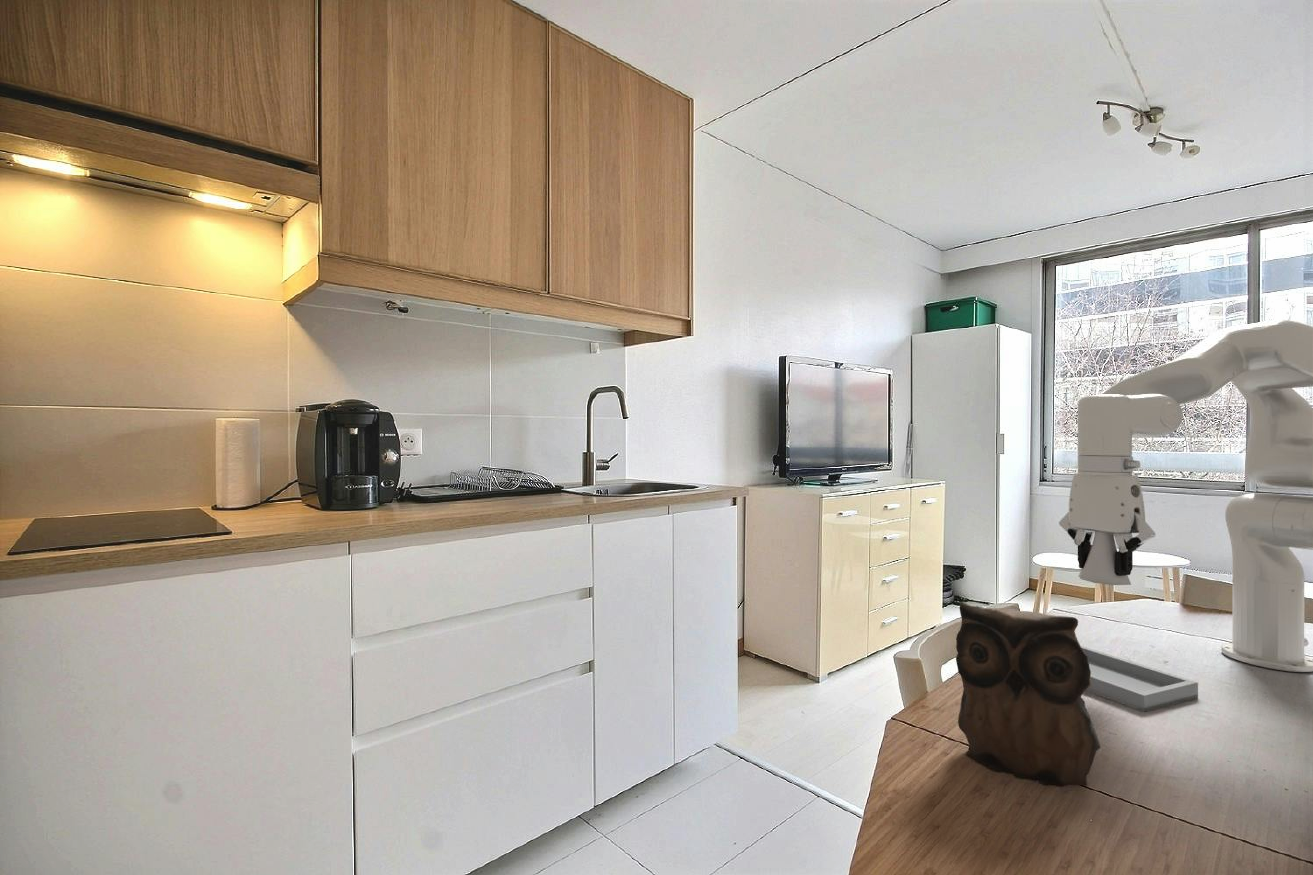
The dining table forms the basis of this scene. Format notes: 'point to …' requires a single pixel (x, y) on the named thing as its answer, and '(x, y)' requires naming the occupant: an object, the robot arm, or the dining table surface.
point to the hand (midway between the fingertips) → (1104, 570)
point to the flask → (1102, 562)
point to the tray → (1136, 683)
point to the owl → (1025, 695)
